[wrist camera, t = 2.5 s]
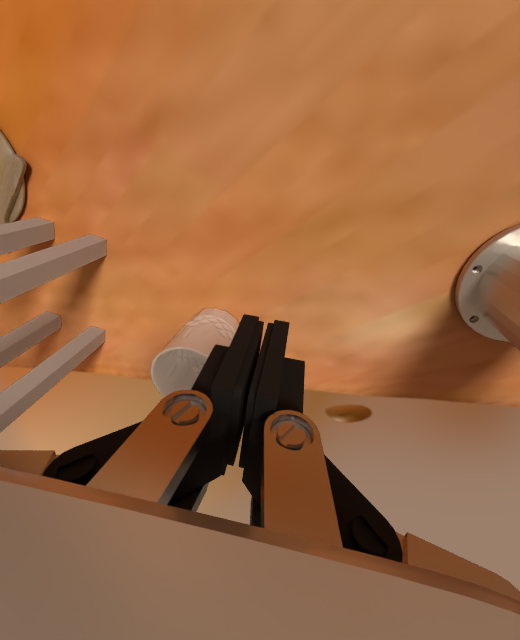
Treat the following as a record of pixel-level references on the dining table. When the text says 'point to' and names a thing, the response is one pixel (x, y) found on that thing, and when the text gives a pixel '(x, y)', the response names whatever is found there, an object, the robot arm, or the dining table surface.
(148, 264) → the dining table surface
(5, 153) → the tableware set
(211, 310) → the white cup
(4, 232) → the grey tall stool
